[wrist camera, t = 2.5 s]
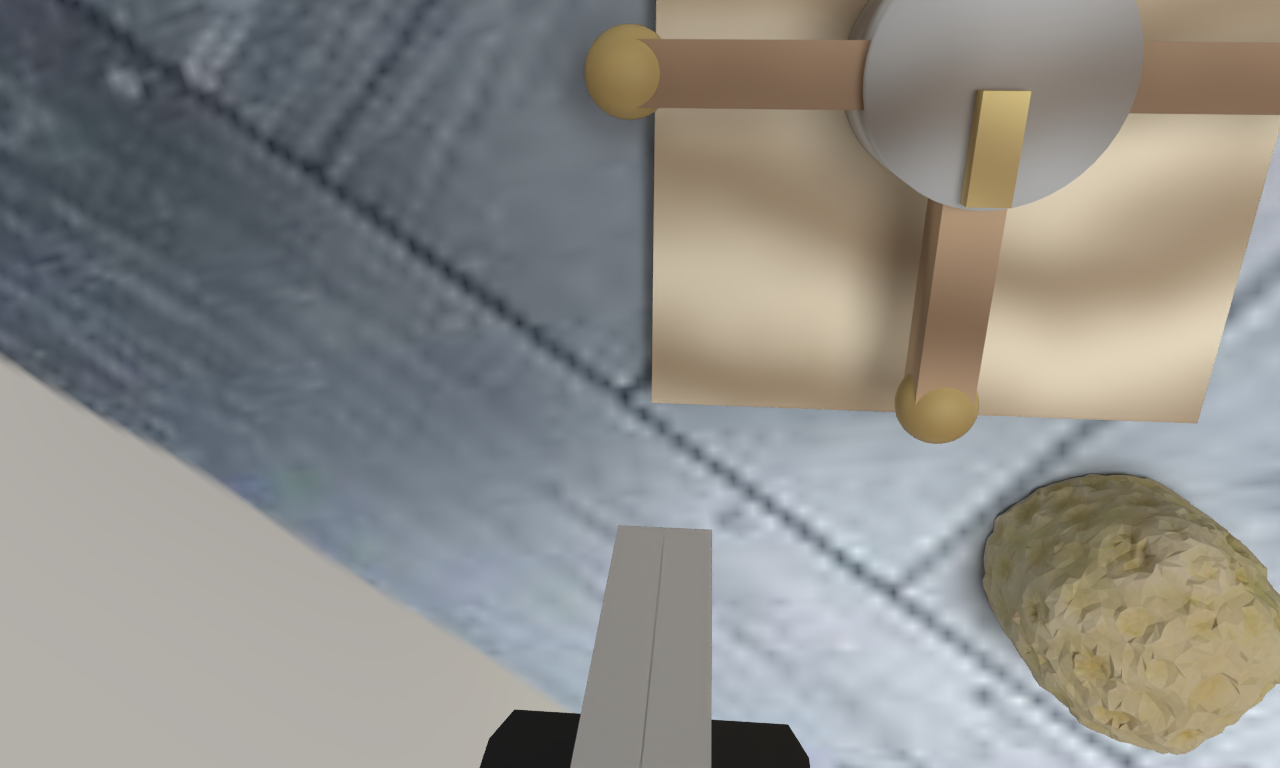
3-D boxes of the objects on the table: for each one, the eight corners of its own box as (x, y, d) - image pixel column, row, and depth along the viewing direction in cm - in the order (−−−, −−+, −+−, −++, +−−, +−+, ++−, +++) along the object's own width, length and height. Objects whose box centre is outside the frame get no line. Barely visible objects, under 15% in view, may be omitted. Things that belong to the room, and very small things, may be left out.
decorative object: (1048, 615, 40) (1273, 768, 32) (907, 642, 35) (1135, 833, 27) (1125, 439, 38) (1391, 559, 30) (985, 439, 32) (1264, 585, 24)
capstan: (594, -367, 23) (559, -482, 18) (1466, -393, 22) (1702, -529, 17) (603, 387, 32) (582, 453, 27) (1229, 409, 30) (1335, 486, 25)
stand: (658, -555, 23) (651, -633, 20) (1443, -593, 22) (1547, -682, 19) (649, 387, 34) (643, 417, 31) (1176, 406, 32) (1218, 439, 30)
